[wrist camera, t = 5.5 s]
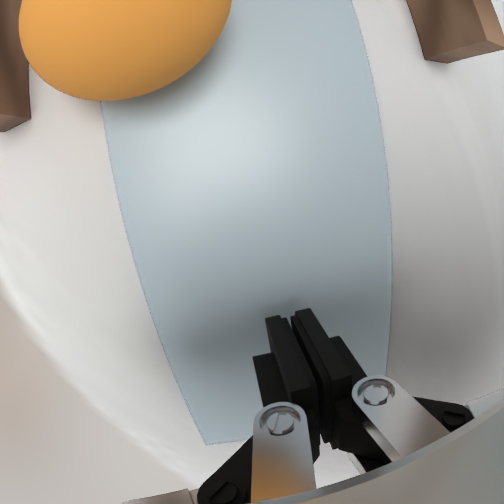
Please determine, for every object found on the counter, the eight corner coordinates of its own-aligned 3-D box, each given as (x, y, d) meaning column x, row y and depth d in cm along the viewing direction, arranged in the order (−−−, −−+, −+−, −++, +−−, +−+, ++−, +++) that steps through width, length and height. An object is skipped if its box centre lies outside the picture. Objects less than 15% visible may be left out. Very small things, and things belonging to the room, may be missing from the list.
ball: (226, -55, 7) (290, 59, 8) (104, 23, 9) (137, 137, 10) (133, -142, 1) (191, -54, 2) (-12, -3, 3) (-13, 149, 5)
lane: (380, 399, 15) (381, 401, 15) (205, 442, 14) (206, 445, 14) (271, -152, 4) (272, -154, 3) (111, -133, 3) (110, -134, 3)
